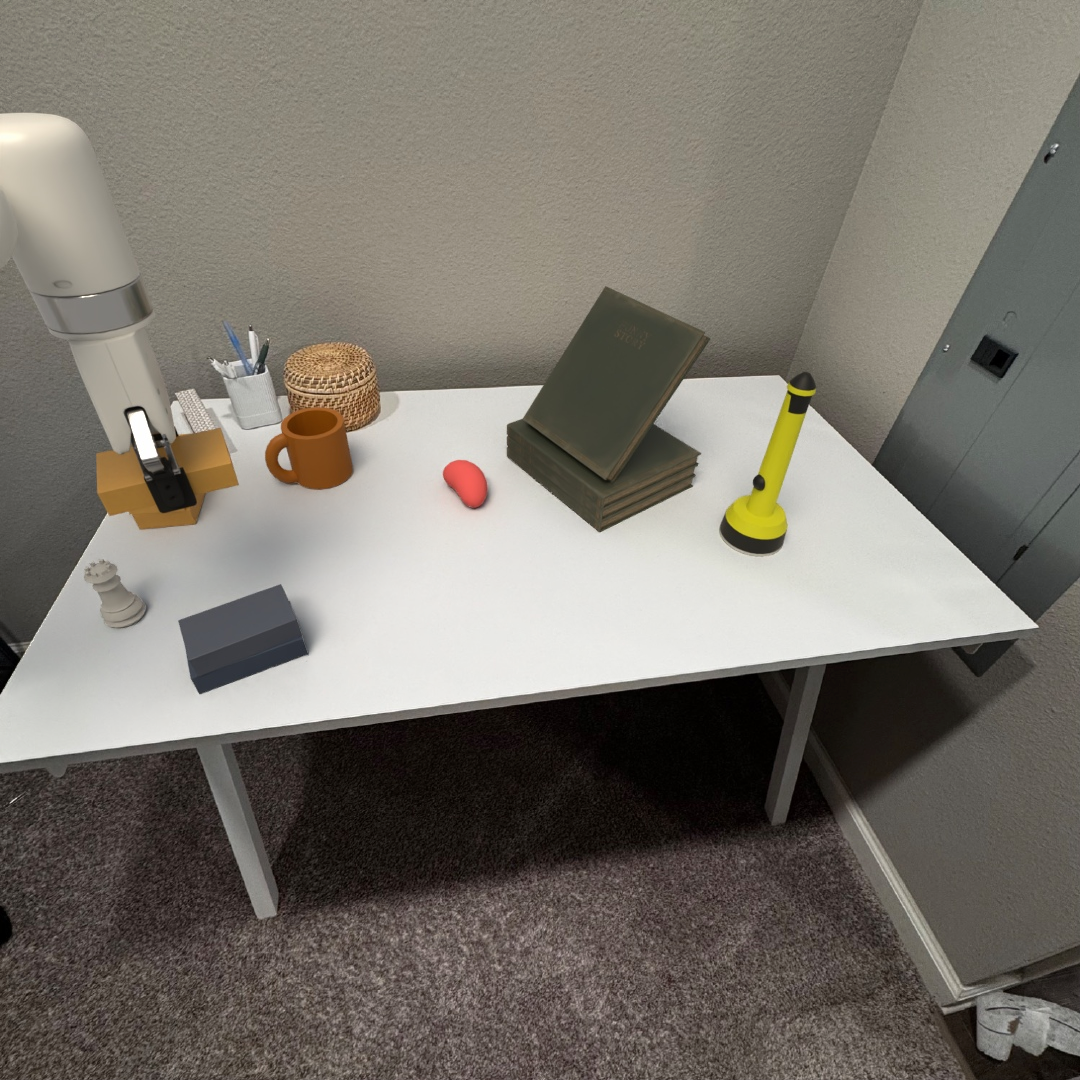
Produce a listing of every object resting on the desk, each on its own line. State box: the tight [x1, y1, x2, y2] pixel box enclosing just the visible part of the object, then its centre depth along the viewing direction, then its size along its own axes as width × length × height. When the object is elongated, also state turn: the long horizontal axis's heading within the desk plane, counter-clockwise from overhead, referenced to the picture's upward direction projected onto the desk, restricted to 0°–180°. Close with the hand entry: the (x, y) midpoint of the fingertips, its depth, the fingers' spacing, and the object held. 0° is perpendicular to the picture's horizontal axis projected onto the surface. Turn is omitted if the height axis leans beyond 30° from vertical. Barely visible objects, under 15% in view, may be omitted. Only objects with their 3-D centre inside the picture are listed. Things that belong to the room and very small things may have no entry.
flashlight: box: [718, 371, 817, 557], centre depth 81 cm, size 25×9×9 cm
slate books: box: [177, 583, 309, 695], centre depth 68 cm, size 12×7×6 cm, turn 119°
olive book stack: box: [506, 285, 711, 533], centre depth 91 cm, size 23×20×25 cm
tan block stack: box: [128, 433, 207, 530], centre depth 87 cm, size 12×8×8 cm, turn 11°
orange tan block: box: [95, 427, 240, 517], centre depth 60 cm, size 11×7×3 cm, turn 118°
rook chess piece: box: [83, 558, 147, 629], centre depth 71 cm, size 4×4×8 cm
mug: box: [264, 406, 354, 490], centre depth 93 cm, size 9×12×9 cm
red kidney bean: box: [442, 459, 489, 508], centre depth 92 cm, size 5×9×6 cm, turn 21°
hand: (174, 484), depth 61 cm, fingers closed on orange tan block, 7 cm apart
